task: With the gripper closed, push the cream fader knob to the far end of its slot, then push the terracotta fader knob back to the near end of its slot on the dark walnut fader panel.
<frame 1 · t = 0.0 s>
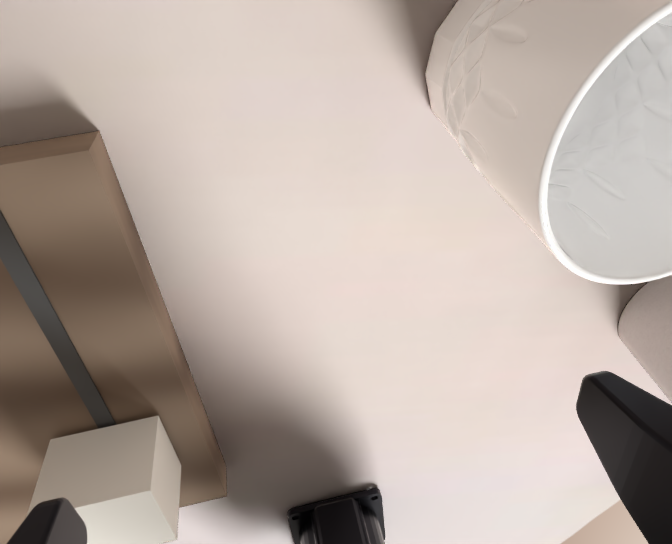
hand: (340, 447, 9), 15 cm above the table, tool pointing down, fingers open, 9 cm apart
white cup: (501, 63, 21), on the table
cream fader: (113, 489, 24), point 4 cm above the table, slide at 0.0 cm
coffee cup: (665, 306, 31), on the table
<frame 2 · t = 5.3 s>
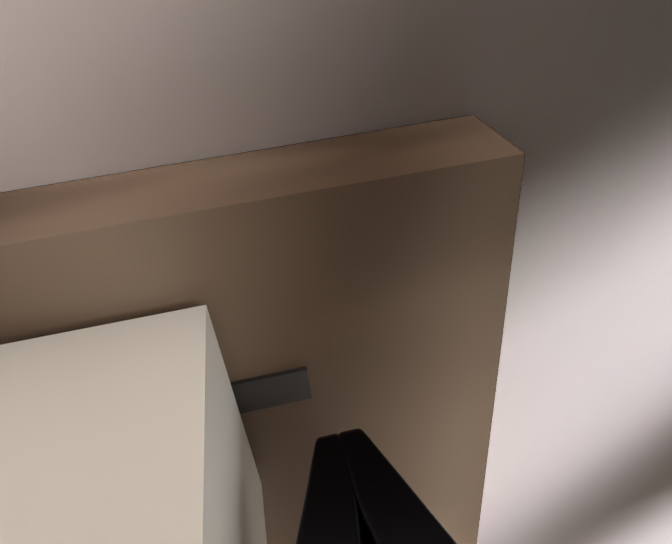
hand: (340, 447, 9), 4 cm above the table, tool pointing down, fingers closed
fader panel: (96, 525, 14), on the table
cream fader: (112, 537, 8), point 4 cm above the table, slide at 1.4 cm, touching gripper
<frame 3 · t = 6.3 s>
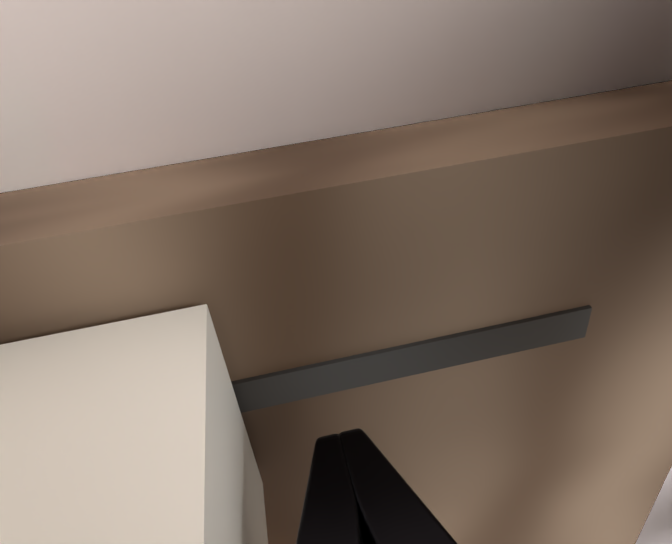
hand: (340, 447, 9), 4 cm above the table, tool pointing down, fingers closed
fader panel: (302, 476, 15), on the table
cream fader: (114, 535, 8), point 4 cm above the table, slide at 7.2 cm, touching gripper
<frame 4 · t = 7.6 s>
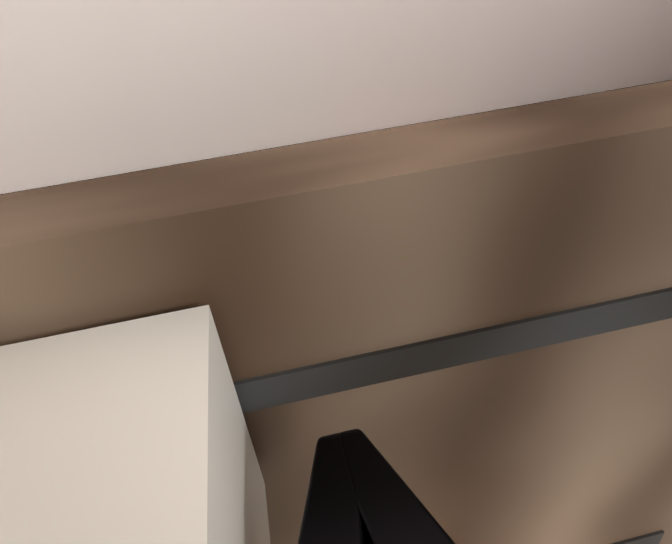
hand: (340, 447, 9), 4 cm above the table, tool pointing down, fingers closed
fader panel: (460, 439, 16), on the table
cream fader: (116, 536, 8), point 4 cm above the table, slide at 12.0 cm, touching gripper
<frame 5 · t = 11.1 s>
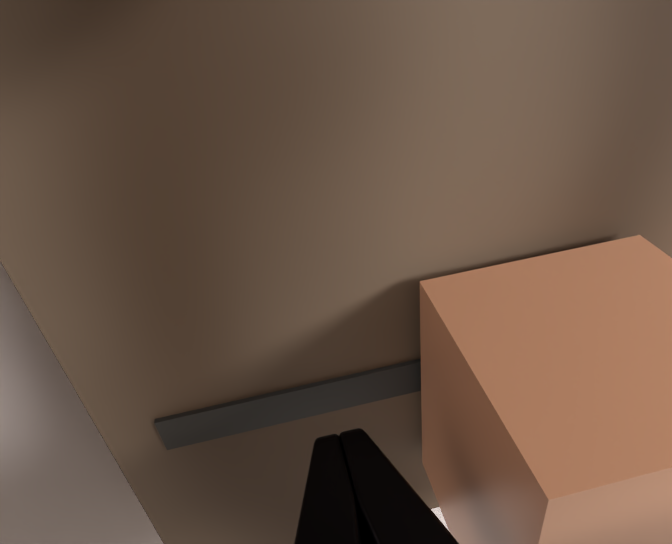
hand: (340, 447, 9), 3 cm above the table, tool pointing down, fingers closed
fader panel: (611, 51, 9), on the table
terracotta fader: (576, 445, 9), point 4 cm above the table, slide at 7.0 cm, touching gripper
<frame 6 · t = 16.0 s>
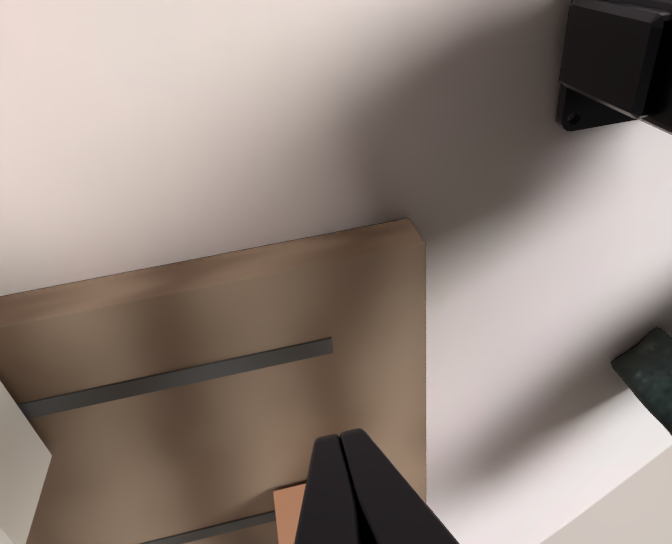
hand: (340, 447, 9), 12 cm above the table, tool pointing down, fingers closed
fader panel: (209, 433, 26), on the table
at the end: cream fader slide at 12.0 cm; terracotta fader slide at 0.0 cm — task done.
